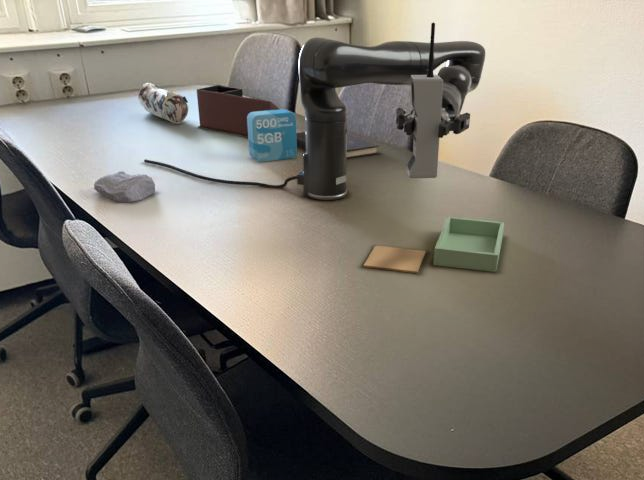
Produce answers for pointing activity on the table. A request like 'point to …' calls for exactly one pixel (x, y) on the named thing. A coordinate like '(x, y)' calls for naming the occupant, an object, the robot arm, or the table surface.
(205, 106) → the desk organizer
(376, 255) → the cork pad
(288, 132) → the data package
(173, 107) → the pencil case
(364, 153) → the hardcover book
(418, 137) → the vintage mobile phone
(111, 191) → the stone block
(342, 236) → the table surface
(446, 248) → the tray
